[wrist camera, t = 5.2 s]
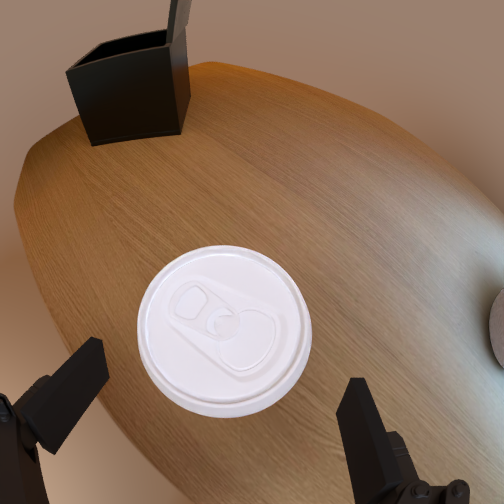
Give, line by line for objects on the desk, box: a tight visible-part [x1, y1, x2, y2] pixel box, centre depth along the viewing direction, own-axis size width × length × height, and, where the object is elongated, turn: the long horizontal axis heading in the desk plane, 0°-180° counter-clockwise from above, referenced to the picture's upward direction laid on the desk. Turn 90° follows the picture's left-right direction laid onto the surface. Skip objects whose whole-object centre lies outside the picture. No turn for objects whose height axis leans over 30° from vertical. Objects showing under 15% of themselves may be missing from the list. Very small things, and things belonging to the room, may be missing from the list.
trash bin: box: [66, 28, 191, 146], centre depth 32 cm, size 15×13×14 cm
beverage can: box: [137, 245, 312, 418], centre depth 16 cm, size 8×8×12 cm
